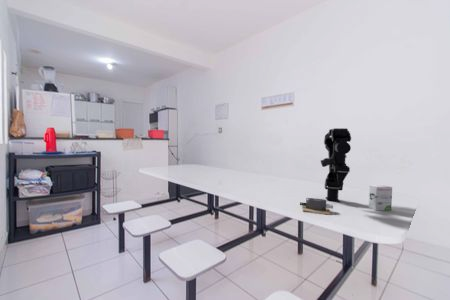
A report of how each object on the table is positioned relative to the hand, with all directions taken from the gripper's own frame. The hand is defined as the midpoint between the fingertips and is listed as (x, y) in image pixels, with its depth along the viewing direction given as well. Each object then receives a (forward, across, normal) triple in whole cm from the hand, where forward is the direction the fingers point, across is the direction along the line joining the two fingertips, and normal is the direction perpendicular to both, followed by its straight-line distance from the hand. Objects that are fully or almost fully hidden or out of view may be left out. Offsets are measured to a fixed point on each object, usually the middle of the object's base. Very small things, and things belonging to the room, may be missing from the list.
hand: (337, 183), depth 109 cm
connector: (+11, +10, -11) cm, 19 cm away
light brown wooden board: (+12, +10, -11) cm, 19 cm away
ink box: (+12, -4, +20) cm, 24 cm away
